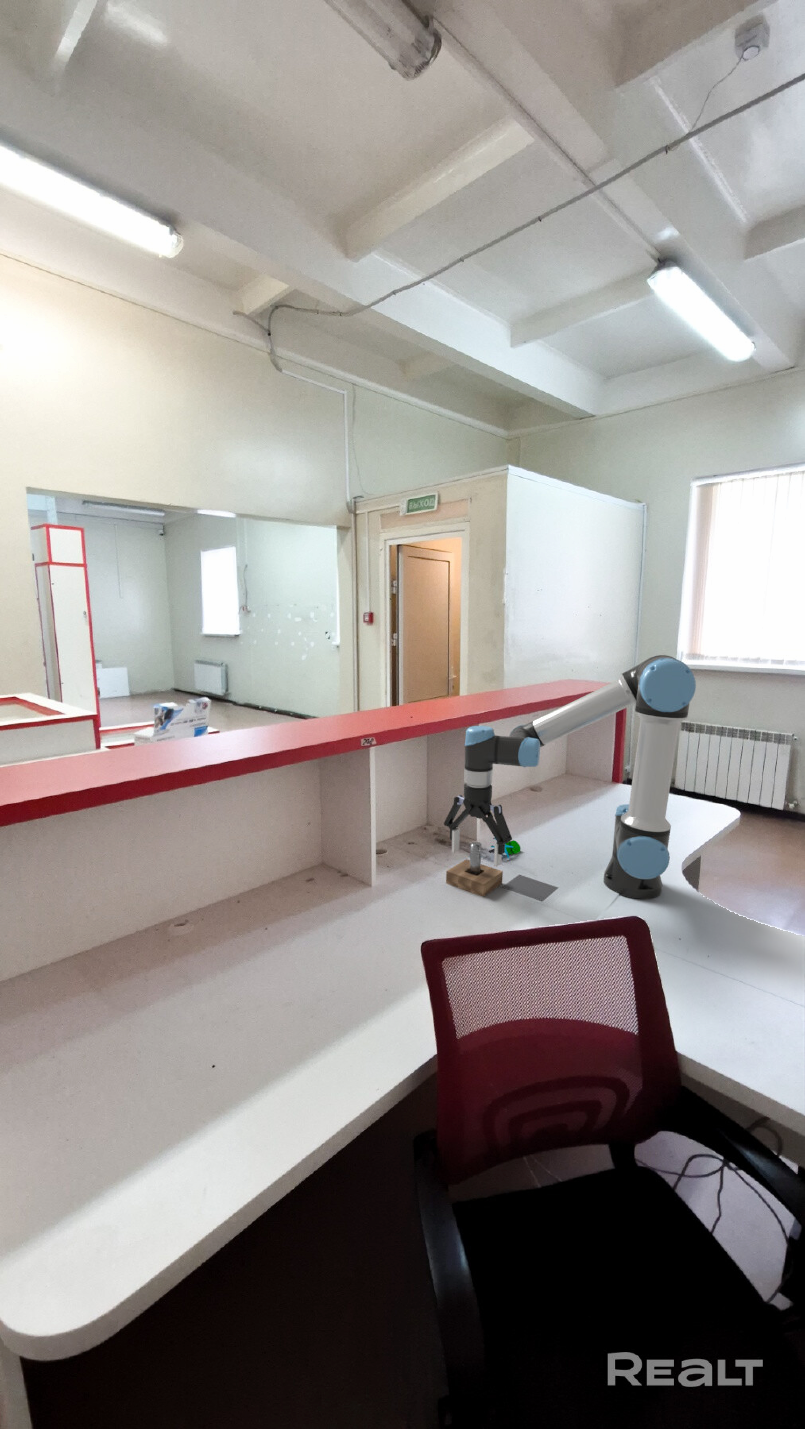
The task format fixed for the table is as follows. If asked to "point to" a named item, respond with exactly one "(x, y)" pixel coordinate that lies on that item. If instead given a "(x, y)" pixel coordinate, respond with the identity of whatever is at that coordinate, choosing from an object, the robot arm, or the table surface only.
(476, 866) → the pin
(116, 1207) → the table surface
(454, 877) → the wooden block with hole
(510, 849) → the stick construction toy
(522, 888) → the mat
